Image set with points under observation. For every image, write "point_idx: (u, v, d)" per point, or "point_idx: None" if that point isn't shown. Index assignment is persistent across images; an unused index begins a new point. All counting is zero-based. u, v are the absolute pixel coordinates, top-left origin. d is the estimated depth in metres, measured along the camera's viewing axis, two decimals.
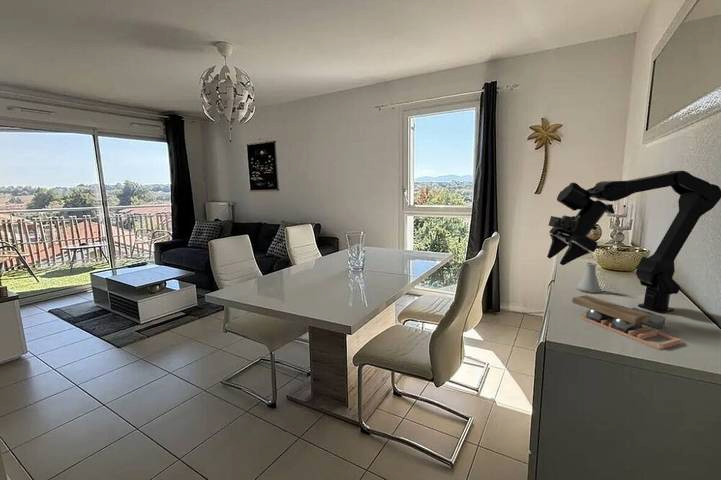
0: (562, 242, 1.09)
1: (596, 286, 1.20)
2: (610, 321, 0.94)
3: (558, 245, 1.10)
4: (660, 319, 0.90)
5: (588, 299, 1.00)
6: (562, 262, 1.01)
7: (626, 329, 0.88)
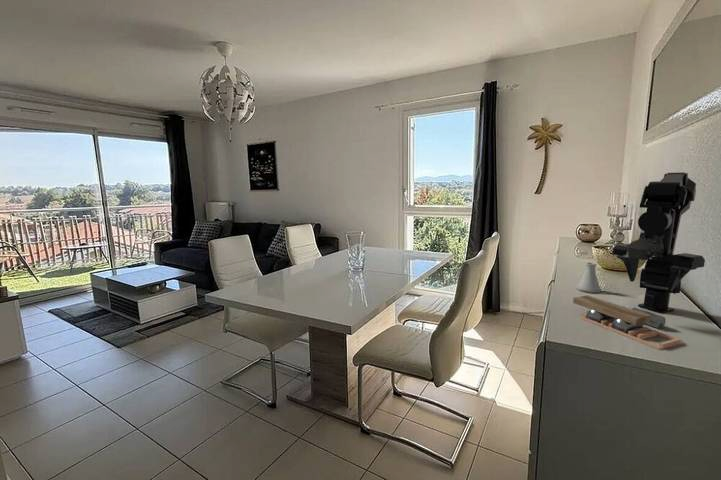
0: (635, 258, 0.96)
1: (596, 286, 1.20)
2: (610, 321, 0.94)
3: (633, 264, 0.96)
4: (660, 319, 0.90)
5: (589, 299, 1.00)
6: (671, 289, 0.88)
7: (626, 330, 0.88)
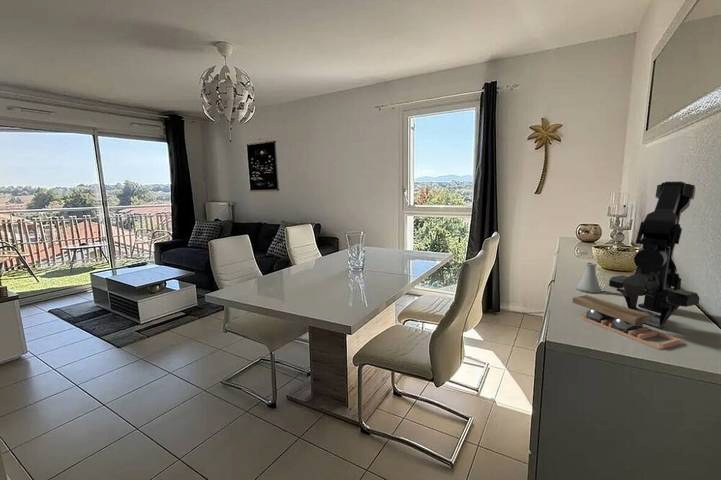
0: None
1: (596, 286, 1.20)
2: (610, 321, 0.94)
3: (633, 297, 0.97)
4: None
5: (589, 299, 1.00)
6: (663, 322, 0.90)
7: (626, 329, 0.88)
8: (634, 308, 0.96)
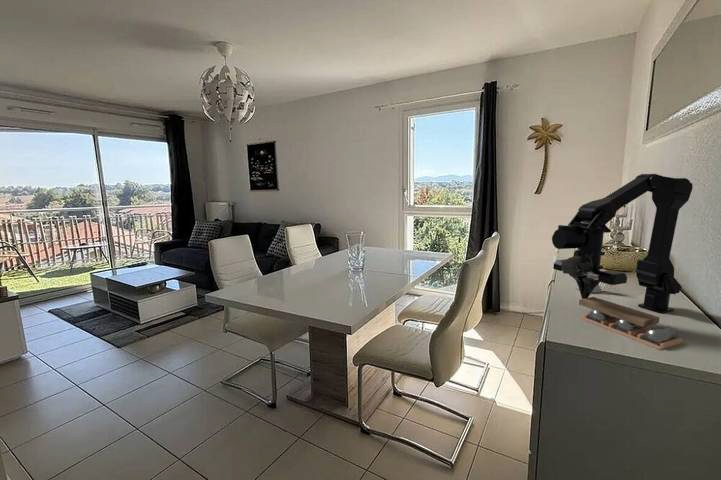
0: (586, 277, 1.01)
1: (596, 286, 1.20)
2: (610, 321, 0.94)
3: None
4: (650, 333, 0.82)
5: (596, 301, 0.98)
6: (585, 297, 1.00)
7: None
8: None
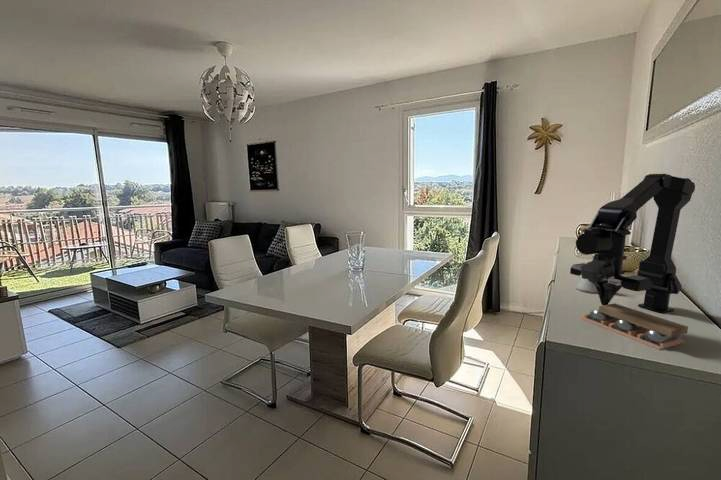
0: (606, 282, 0.95)
1: None
2: (610, 321, 0.94)
3: (605, 287, 0.95)
4: (654, 334, 0.81)
5: (617, 308, 0.93)
6: (606, 303, 0.95)
7: None
8: None
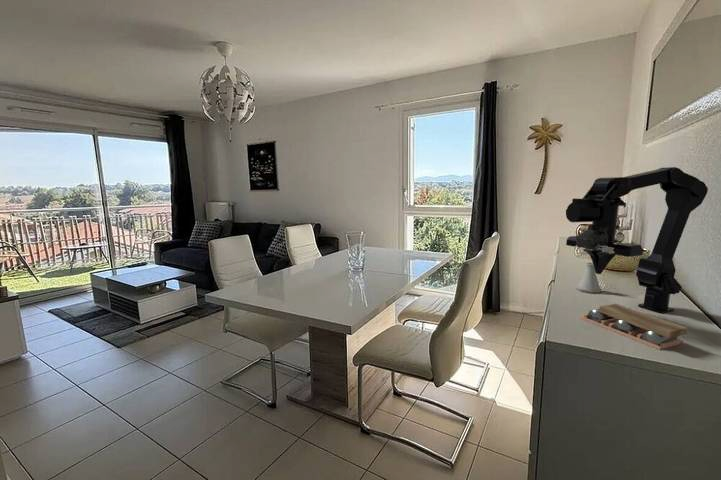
0: (600, 251, 1.00)
1: (596, 286, 1.20)
2: (610, 321, 0.94)
3: (599, 257, 1.00)
4: (653, 335, 0.81)
5: (618, 308, 0.92)
6: (600, 272, 1.00)
7: None
8: None
